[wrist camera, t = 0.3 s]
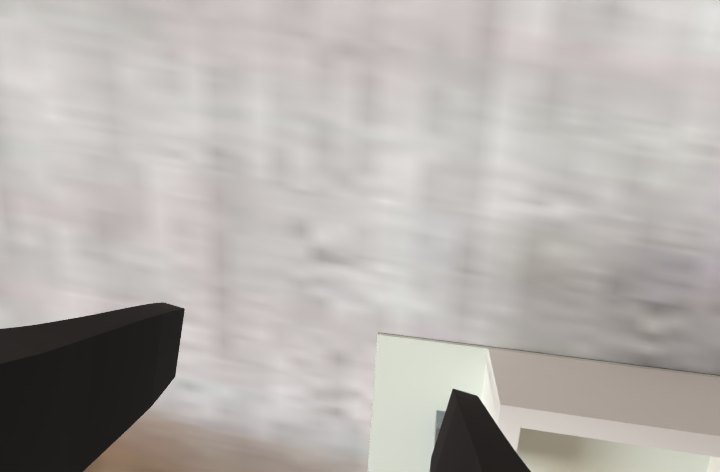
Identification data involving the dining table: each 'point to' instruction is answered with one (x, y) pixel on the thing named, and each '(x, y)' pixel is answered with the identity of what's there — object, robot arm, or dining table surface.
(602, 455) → the mat
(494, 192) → the dining table surface
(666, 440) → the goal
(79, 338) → the robot arm
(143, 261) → the dining table surface
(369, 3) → the dining table surface
